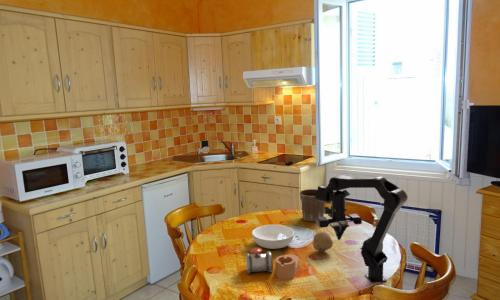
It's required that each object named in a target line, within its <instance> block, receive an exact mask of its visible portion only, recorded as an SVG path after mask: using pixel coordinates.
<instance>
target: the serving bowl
mask: <svg viewBox="0 0 500 300" xmlns="http://www.w3.org/2000/svg"><path fill="white" fill-rule="evenodd" d="M279 233H282V234H284V235H286V236H287V237H288V238H286V239H282V240H277V239H276V238H277V235H278V234H279ZM251 235H252V238H253V241H254V242H255V243H256V245H258V246H260V247H261V248H264V249H269V250H270V249H274V250H276V249H282V248H284V247H287V246H289V245H290V244H291V243H292V241H293V240H294V236H295V232H294V229H292V228H291V227H289V226H286V225H280V224H264V225H261V226H256V228H254V229H253V230H252V232H251Z"/></svg>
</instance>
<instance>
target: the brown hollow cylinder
mask: <svg viewBox="0 0 500 300" xmlns="http://www.w3.org/2000/svg"><path fill="white" fill-rule="evenodd" d="M274 261H275V277H276V278H277V279H280V280H284V281H285V280H286V281H288V280H293V279H294V278H296V275H297V272H298V269H299V266H300V257H299V256H297V255H295V254H284V255H279V256H277V257H276V258H275V260H274Z"/></svg>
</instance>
